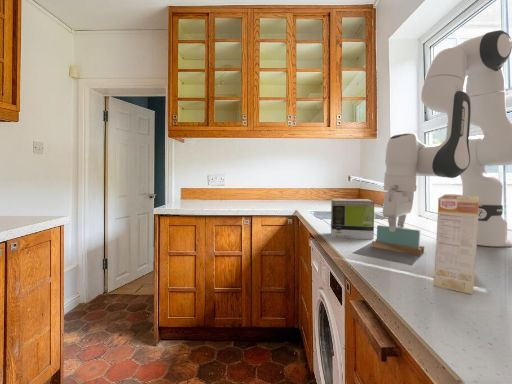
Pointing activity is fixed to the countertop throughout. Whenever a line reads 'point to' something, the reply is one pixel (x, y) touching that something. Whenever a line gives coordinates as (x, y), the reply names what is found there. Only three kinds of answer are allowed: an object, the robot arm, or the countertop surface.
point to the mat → (387, 254)
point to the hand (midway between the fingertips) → (396, 229)
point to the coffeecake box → (456, 242)
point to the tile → (399, 236)
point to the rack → (398, 248)
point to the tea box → (352, 218)
